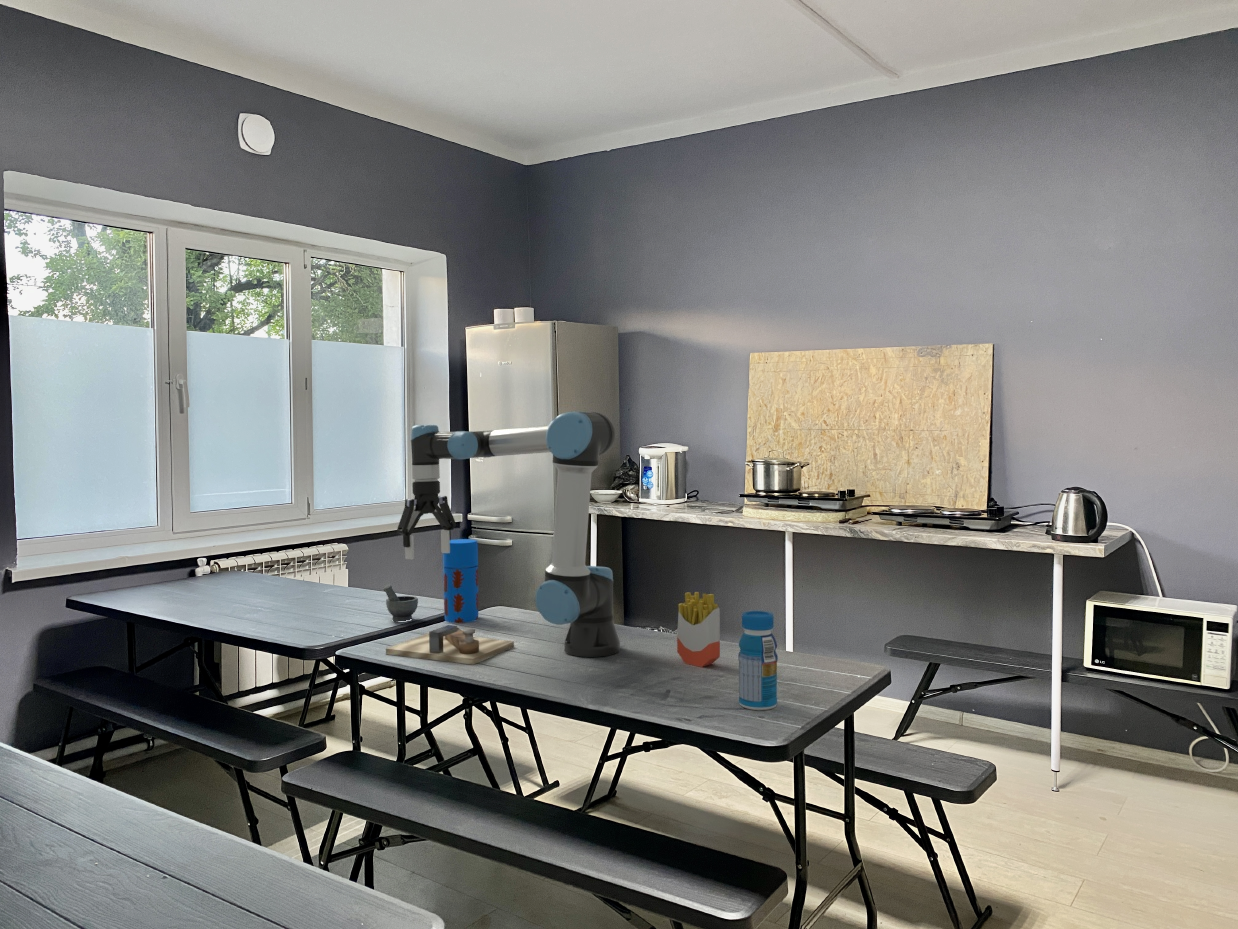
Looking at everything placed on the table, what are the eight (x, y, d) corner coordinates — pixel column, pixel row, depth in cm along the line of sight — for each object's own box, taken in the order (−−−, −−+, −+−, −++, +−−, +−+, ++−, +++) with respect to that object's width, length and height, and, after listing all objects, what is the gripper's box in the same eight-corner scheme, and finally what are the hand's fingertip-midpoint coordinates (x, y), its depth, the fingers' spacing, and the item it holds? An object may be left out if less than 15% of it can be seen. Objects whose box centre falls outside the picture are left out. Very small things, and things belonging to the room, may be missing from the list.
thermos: (475, 622, 275) (473, 543, 274) (441, 623, 275) (439, 543, 274) (481, 615, 285) (480, 538, 284) (448, 615, 286) (447, 539, 285)
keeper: (457, 646, 239) (457, 626, 239) (438, 653, 231) (438, 632, 231) (448, 645, 240) (448, 625, 240) (429, 652, 233) (429, 631, 232)
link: (481, 652, 231) (481, 630, 231) (462, 654, 229) (461, 632, 229) (459, 635, 251) (458, 615, 251) (441, 637, 249) (440, 617, 248)
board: (513, 646, 244) (513, 641, 244) (473, 664, 226) (473, 658, 226) (430, 637, 255) (430, 632, 255) (385, 654, 237) (385, 648, 237)
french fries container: (708, 669, 219) (707, 598, 218) (676, 661, 227) (675, 592, 226) (720, 666, 222) (719, 595, 221) (688, 658, 230) (687, 589, 229)
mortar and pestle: (408, 615, 286) (408, 579, 286) (423, 620, 279) (423, 582, 279) (377, 621, 278) (376, 583, 278) (391, 625, 272) (390, 587, 271)
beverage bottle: (737, 710, 187) (737, 617, 186) (738, 698, 195) (738, 609, 195) (778, 712, 186) (778, 618, 185) (777, 700, 194) (777, 610, 193)
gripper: (448, 477, 258) (450, 549, 259) (382, 482, 237) (384, 560, 238) (467, 478, 254) (469, 551, 255) (401, 482, 233) (403, 562, 234)
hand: (428, 555), depth 246 cm, fingers open, 13 cm apart
